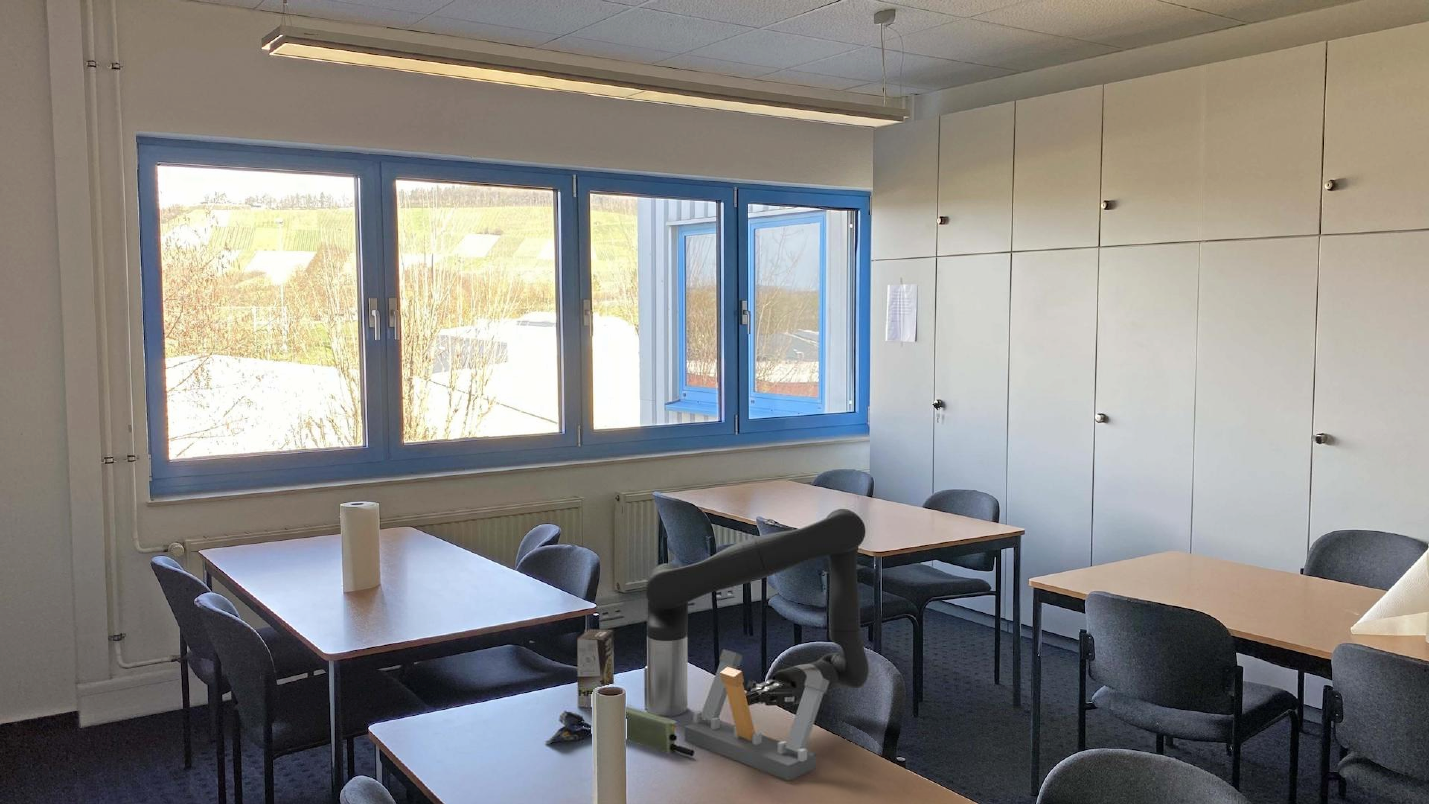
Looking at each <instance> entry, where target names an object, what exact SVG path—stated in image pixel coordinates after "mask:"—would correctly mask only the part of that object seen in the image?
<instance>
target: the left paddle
mask: <svg viewBox="0 0 1429 804" xmlns="http://www.w3.org/2000/svg"><path fill="white" fill-rule="evenodd" d="M742 659H743V655H741V654H739V653H737V652H735V651H731V650H728V649H724V648H723V650H722V651H721V655H720V657H719V661H720V662H719V664H718V667H717V670H716V673H715V675H714V678H713V681H712V684H711V687H710V689H709V692H708V694H707V697H706V700H705V703H704V704H703V708H702V710H701V712H702V713H701V716H700V717H701V718H702V720H705V719H706V720H709V721H711V719H712V718H715V717H717V718H720V714H721V712H722V709H723V706H724V704H725V701H726V699H727V697H728V695H727V691H726V687H725V683H722V679H721V675H720V672H721V671H723V670H724V669H725V668H726V667H729V668H733V669H736V670H737V668H738V667H740V665H741V662H742Z"/></svg>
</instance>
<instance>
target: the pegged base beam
mask: <svg viewBox="0 0 1429 804" xmlns="http://www.w3.org/2000/svg"><path fill="white" fill-rule="evenodd" d="M701 713H702V710H701V711H700V710H698V711H696V712H693V723H691V724H689V725H686V726H684V741H685V742H687V743H690V744H693V745H695V746H698V747H701V748H703V749H706V750H708V751H711V752H713V753H716V754H719V755H721V756H724V757H727V758H729V759H732V760H733V761H734V760H735V761H737V762H738V763H741V764H744V765H747V766H749V767H753V768H755V769H757V770H759V771H762V772H765V773H767V774H771V775H772V776H776V777H777V778H781V779H783V780H785V781H788V782H789V781H791V780H793V779H796V778H798V777H800V776H803V775H805V774H807V773H809V772H811V771H814V770H816V753H813V752H811V751H808V749H807V748H802V749H799V750H798V753H797V752H795V751H792V750H789V749H787V748H785V745H786V742H787V741H785V740H782V741H780V740H777V739H773V737H768V736H766V735H763V734H762V732H759V731H757V732H756V731H755V733H754V734H753V739H751V740H749V739H746V738H743V737H740V736H738V734H737V731H736V727H735V724H732V723H730V722H726V721H724V720H720V717H719V718H717V717H715V718H712V719H711V721H709V720H706V719H703V718H701V717H700V716H701Z"/></svg>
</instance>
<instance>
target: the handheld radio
mask: <svg viewBox="0 0 1429 804" xmlns="http://www.w3.org/2000/svg"><path fill="white" fill-rule="evenodd" d="M626 719H627V740H626V741H628V740H630V741H629V742H631V741H632V743H634V744H637V743H639V744H638V745H641V744H642V745H641V746H644V747H647V746H648V747H647V748H650V747H651V748H650V749H653V748H655V749H654V750H656V749H657V751H659V750H660V752H663V751H664V752H663V753H666V752H667V753H666V754H670V753H672V752H677V753H680V754H683V755H686V756H689V757H693V756H694V755H695V750H694V749H691V748H688V747H685V746H681V745H677V744H675V742H676V741H677V738H678V737H677V735H676V734H675V731H676V730H677V727H676V725H675V724H676V723H677V721H676V720H674V719H671V718H666V717H665V716H659V715H654V714H651V713H650V712H648V711H647V712H646V711H642V710H639V709H636V708H632V707H628V706H626ZM671 751H672V752H671Z"/></svg>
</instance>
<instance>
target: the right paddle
mask: <svg viewBox="0 0 1429 804" xmlns="http://www.w3.org/2000/svg"><path fill="white" fill-rule="evenodd" d="M828 684H829V681H828V680H826V679H824V678H822V677H818V676H815V675H811V674H808V675H807V678H806V681H805V684H804V685H805V689H804V692H803V695H802V698H801V701H800V703H798V704H799V705H798V707H797V710H796V713H795V716H794V719H793V721H792V724H791V728H790V731H789V733H788V737H787V740H786V741H785V742H786V745H785V748H787V749H789V750H792V751H795V752H797V753H798V750H799V749H802V748H805V749H807V748H806V747H807V744H808V741H809V738H810V735H811V732H812V730H813V726H814V724H815V720H816V718H817V715H818V712H819V708H820V706H821V702H822V699H823V697H824V695H825V694H827V693H826V690H827V687H828ZM824 693H825V694H824Z"/></svg>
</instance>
